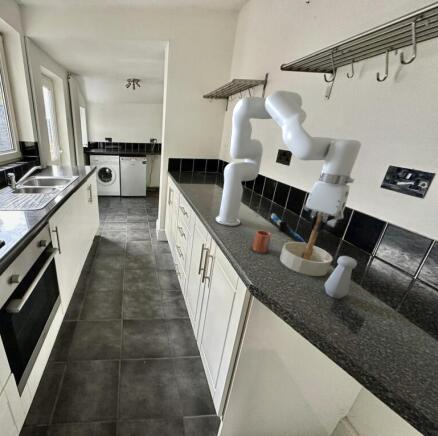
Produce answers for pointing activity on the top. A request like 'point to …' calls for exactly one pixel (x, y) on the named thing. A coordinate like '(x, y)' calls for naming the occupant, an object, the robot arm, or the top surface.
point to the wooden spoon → (311, 240)
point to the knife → (286, 228)
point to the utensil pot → (261, 241)
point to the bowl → (295, 262)
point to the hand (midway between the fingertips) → (315, 229)
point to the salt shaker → (340, 277)
